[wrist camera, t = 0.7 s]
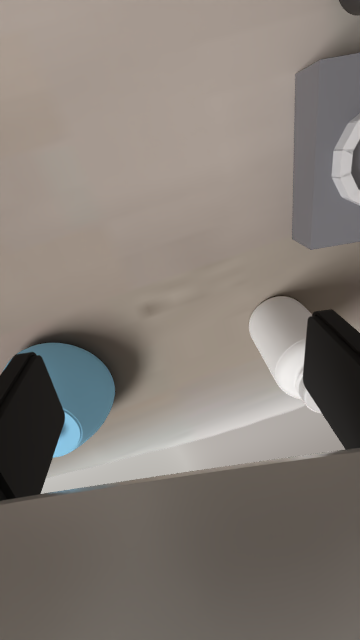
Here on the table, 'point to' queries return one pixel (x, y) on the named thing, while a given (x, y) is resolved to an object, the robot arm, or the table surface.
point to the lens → (351, 6)
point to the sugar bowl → (77, 391)
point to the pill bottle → (283, 343)
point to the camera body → (327, 153)
